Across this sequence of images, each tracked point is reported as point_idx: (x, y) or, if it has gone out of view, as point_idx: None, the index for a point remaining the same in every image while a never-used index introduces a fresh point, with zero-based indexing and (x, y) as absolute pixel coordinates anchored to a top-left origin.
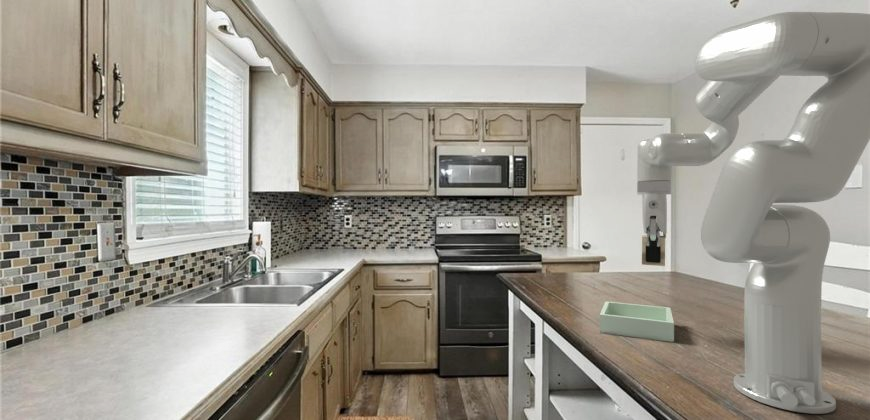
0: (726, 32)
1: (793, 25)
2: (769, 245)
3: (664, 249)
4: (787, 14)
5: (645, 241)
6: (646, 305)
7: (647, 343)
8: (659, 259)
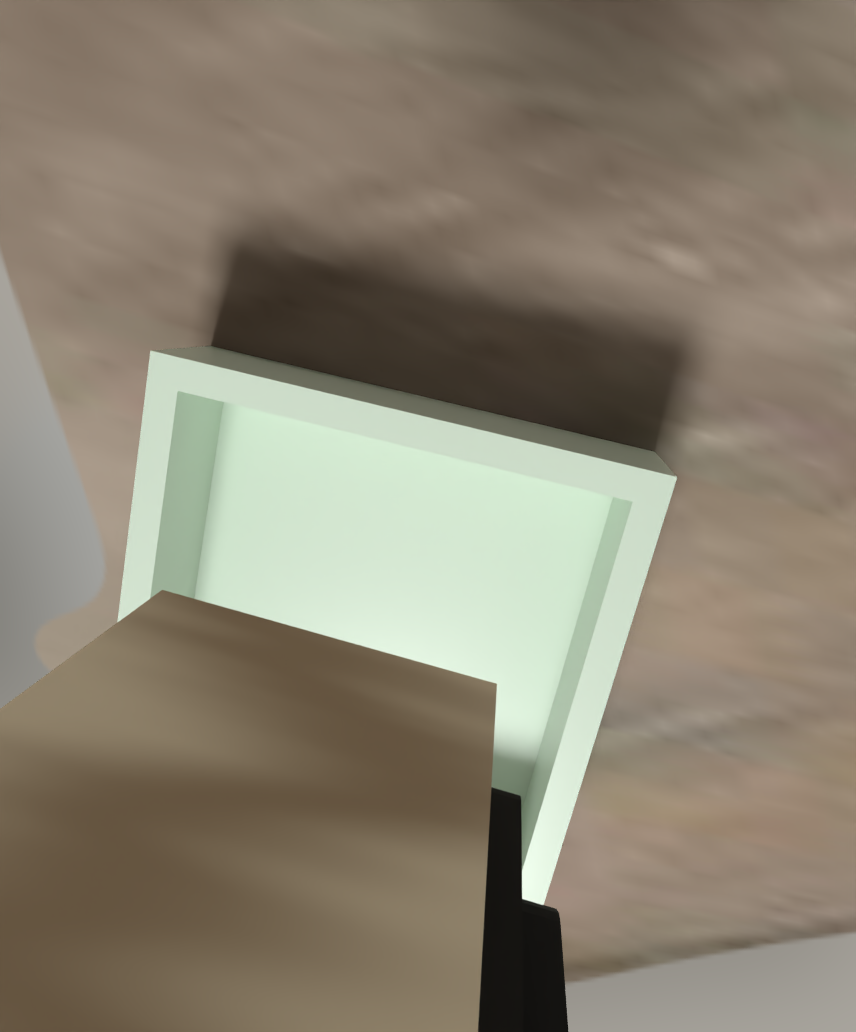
0: None
1: None
2: None
3: (477, 889)
4: None
5: None
6: (133, 526)
7: (708, 622)
8: (517, 837)
